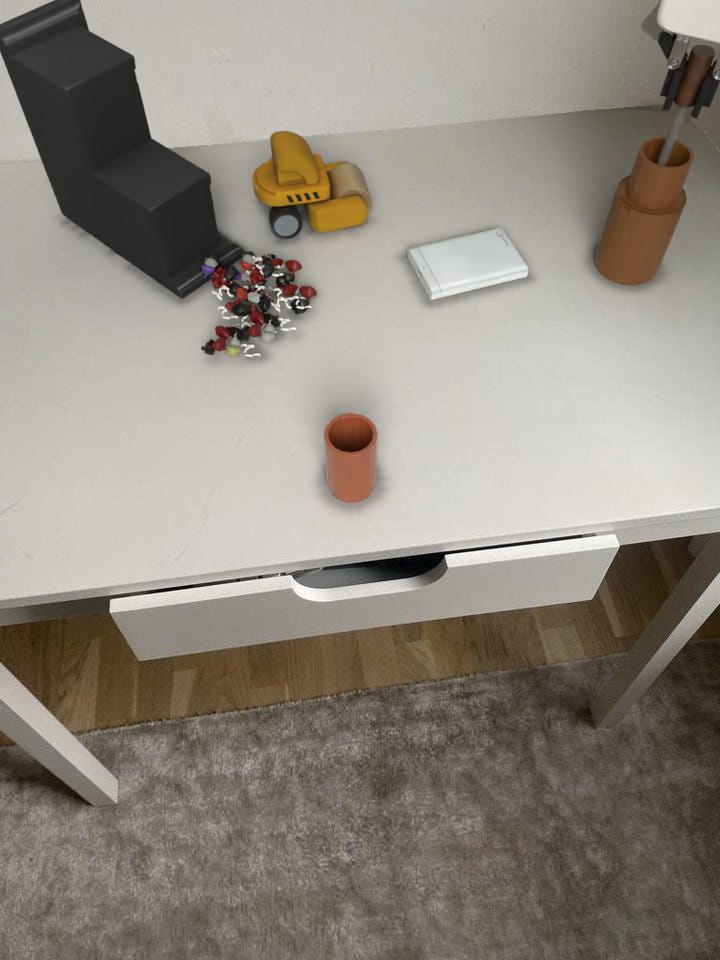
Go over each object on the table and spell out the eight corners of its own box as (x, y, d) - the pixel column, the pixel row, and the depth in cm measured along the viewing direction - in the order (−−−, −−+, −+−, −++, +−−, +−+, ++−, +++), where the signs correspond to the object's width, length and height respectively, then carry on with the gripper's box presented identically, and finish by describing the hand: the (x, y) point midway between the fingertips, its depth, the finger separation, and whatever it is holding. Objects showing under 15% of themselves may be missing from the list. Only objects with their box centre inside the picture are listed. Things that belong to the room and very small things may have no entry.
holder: (385, 487, 75) (387, 439, 69) (344, 511, 74) (343, 464, 67) (358, 454, 78) (357, 405, 71) (318, 476, 76) (314, 428, 69)
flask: (670, 269, 93) (719, 158, 80) (625, 294, 90) (668, 183, 78) (625, 235, 96) (665, 123, 84) (581, 258, 94) (615, 147, 81)
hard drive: (501, 225, 95) (407, 246, 93) (529, 268, 90) (432, 291, 88) (499, 236, 96) (406, 257, 94) (527, 279, 92) (431, 301, 90)
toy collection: (179, 273, 91) (175, 244, 86) (296, 256, 94) (298, 227, 90) (206, 375, 84) (203, 349, 80) (330, 352, 88) (333, 327, 84)
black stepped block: (247, 255, 94) (217, 64, 74) (181, 301, 90) (130, 111, 70) (127, 178, 103) (71, -12, 83) (61, 217, 98) (-14, 26, 79)
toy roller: (375, 228, 97) (376, 153, 88) (263, 245, 95) (253, 170, 86) (360, 186, 102) (360, 111, 93) (253, 201, 100) (242, 126, 91)
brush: (657, 227, 88) (726, 52, 72) (638, 237, 87) (704, 62, 71) (638, 213, 90) (702, 39, 73) (620, 223, 89) (680, 48, 72)
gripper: (874, -112, 61) (770, 107, 77) (674, -145, 65) (614, 70, 80) (864, -75, 57) (757, 148, 73) (653, -112, 61) (594, 107, 77)
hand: (682, 106), depth 76 cm, fingers closed on brush, 2 cm apart
